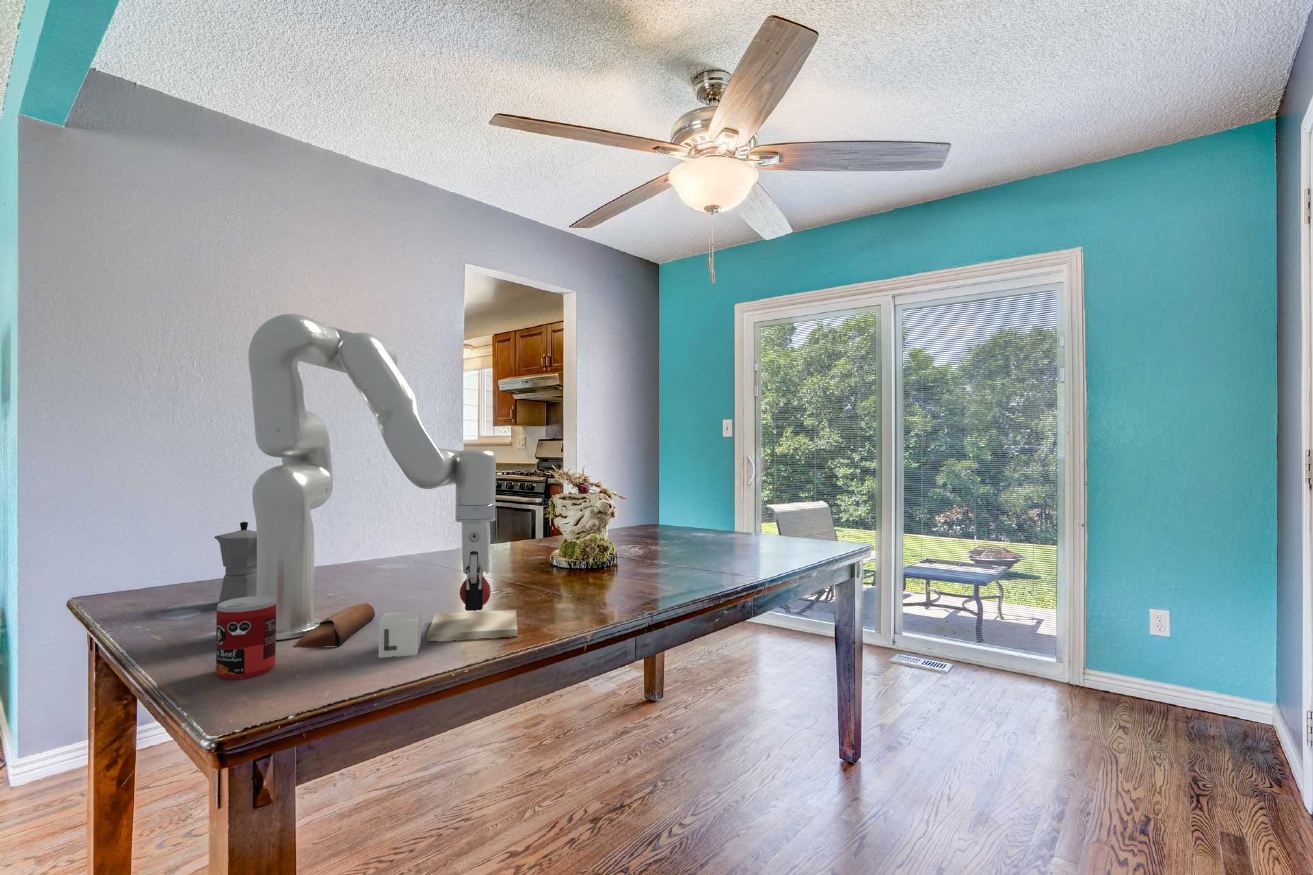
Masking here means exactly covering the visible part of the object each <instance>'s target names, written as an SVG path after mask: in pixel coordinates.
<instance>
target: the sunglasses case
mask: <svg viewBox="0 0 1313 875" xmlns="http://www.w3.org/2000/svg"><path fill="white" fill-rule="evenodd" d="M375 617H376V612H375V609H374V607H373V606H372V605H371V604H369V603H367V602H364V603H359V604H354V605H351V606H349V607H346V608H344V609H342V610H339V611H338V612H336V613H334V614H332V615H330V616H328V617H326V618H324V619H323V620H322V621H321V622H320V624H319V626H317V627H316V628H314V629H313V630H311V631H310V632H309V633H307V634H306V635H304V636H301V637H300V639H299V640H298V641H296V643H295V644H294V645H293V647H294V648H326V647H325V646H337V647H336V648H338V647H339V646H340V645H342V644H343V643H345V642H346V640H348V639H349V638H350V636H351V635H353V634H354V633H355V632H357V630H359V629H360V628H361V627H362V626H364V625H365V624H367V623H368V622H369V621H371V619H372V620H373V619H374V618H375Z"/></svg>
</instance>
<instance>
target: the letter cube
mask: <svg viewBox="0 0 1313 875" xmlns="http://www.w3.org/2000/svg"><path fill="white" fill-rule="evenodd" d="M421 620H422V611H402V612H385V613H384V615H383V616H382V617H381V619H380V621H379V622H378V658H393V657H392V656H395V657H407V656H408V657H409V655H410V657H411V656H417V655H418V652H419V650H418V649H420V647H421V645H420V644H421V643H422V642H421V641H422V640H421V639H422V638H421V637H422V636H421V634H422V633H421V629H422V628H421V627H422V626H421V625H422V621H421ZM419 646H420V647H419ZM416 654H417V655H416Z"/></svg>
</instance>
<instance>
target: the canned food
mask: <svg viewBox="0 0 1313 875" xmlns="http://www.w3.org/2000/svg"><path fill="white" fill-rule="evenodd" d="M218 603H219V602H218ZM215 619H216V625H215V626H216V629H215V630H216V631H215V632H216V633H215V638H216V640H215V642H216V644H215V672H216V675H217V677H218V676H219V677H218V678H219V679H222V678H226V679H225V680H229V679H234V680H241V679H240V678H245V679H249V678H248V677H251V678H253V677H252V676H255V677H257V676H256V675H259V676H261V674H262V675H265V674H266V672H267V673H269V672H271V671H272V670H273V669H274V668H275V664H276V656H277V655H276V652H277V650H276V648H277V647H276V646H277V642H276V641H277V640H276V599H275V598H273V597H268V596H252V597H242V598H236V599H231V600H227V601H224V602H221V603H219V604H217V605H216V618H215ZM268 671H269V672H268ZM264 673H265V674H264Z"/></svg>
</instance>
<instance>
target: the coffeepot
mask: <svg viewBox="0 0 1313 875" xmlns="http://www.w3.org/2000/svg"><path fill="white" fill-rule="evenodd" d="M239 526H240V530H236V531H233V532H227V533H223V534H219V535H215V536H214V537H213V538H214V539H215V540H216V541H217V542H218V544H219V548H220V549H219V550H220V555H221V560H222V566H223V567H224V568H225V574H224V576H223V579H222V585H221V589H220V594H219V598H218V604H219V603H221V602H224V601H227V600H231V599H236V598H242V597H252V596H256V592H257V530H251V529H248V526H249V522H248V521H242V522H240V523H239ZM218 604H217V605H218Z"/></svg>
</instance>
